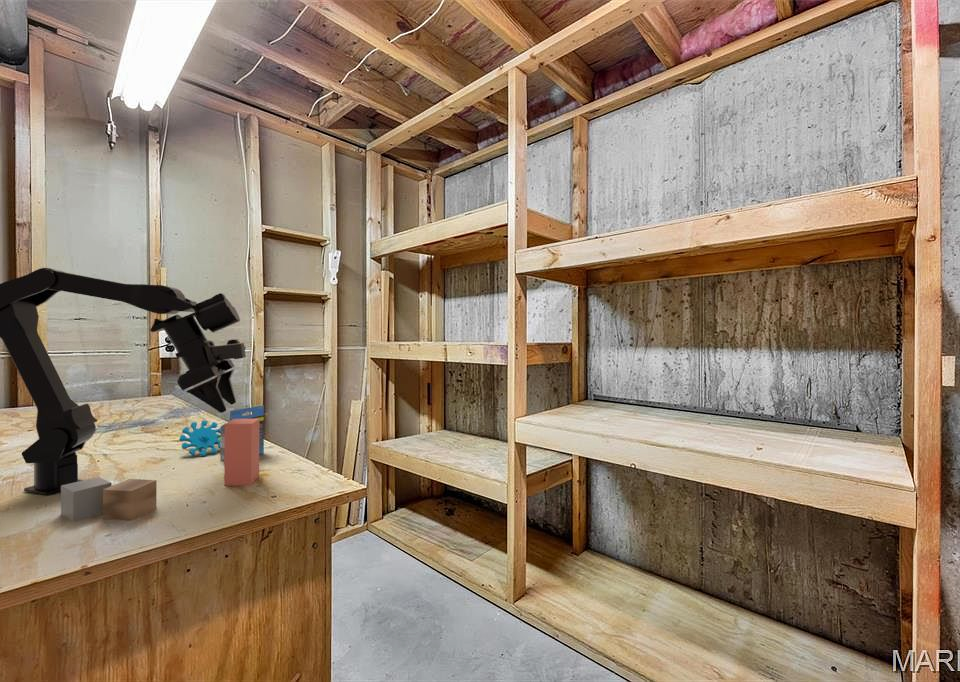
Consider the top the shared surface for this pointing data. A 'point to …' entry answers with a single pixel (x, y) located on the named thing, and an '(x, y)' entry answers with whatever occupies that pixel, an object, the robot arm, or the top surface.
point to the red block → (241, 452)
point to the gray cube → (83, 498)
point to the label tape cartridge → (237, 414)
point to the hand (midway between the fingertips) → (229, 407)
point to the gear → (201, 438)
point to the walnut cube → (129, 499)
